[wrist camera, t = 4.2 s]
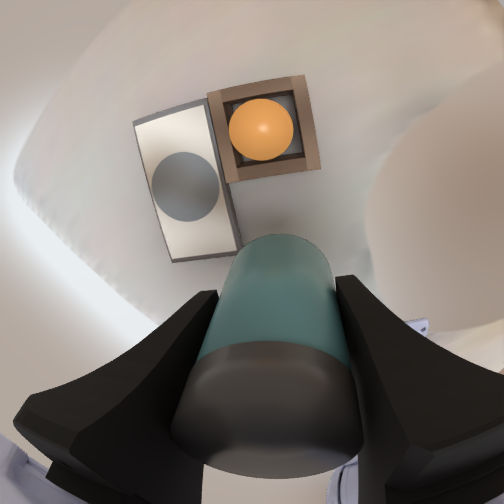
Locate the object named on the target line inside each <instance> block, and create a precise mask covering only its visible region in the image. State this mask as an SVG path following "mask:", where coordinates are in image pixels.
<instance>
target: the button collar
mask: <svg viewBox="0 0 504 504" xmlns="http://www.w3.org/2000/svg"><path fill="white" fill-rule="evenodd" d="M290 94H292V95H293V100H294V105H295V110H296V115H297V121H298V126H299V132H300V137H301V143H302V149H303V152H302V153H295V154H288V155H281V156H277V157H275V158H273V159H269V160H263V161H262V160H251V161H245V162H243V157H242V154H241V153H240V152H239V151H238V150H237V149H236V148H235V147H234V145H233V144H232V142H231V139H230V136H229V123H230V120H231V117H232V115H233V109H232V105H234V104H238V103H243V102H248V101H250V100H254V99H264V98H270V97H276V96H283V95H290ZM207 97H208V102H209V106H210V111H211V116H212V120H213V125H214V129H215V134H216V139H217V143H218V148H219V152H220V157H221V161H222V166H223V170H224V175H225V179H226V183H232V182H238V181H243V180H249V179H255V178H261V177H268V176H274V175H281V174H288V173H295V172H302V171H310V170H318V169H321V164H320V157H319V151H318V144H317V138H316V132H315V126H314V120H313V115H312V110H311V104H310V99H309V94H308V89H307V84H306V80H305V75H298V76H291V77H284V78H277V79H271V80H265V81H259V82H254V83H249V84H244V85H239V86H234V87H230V88H226V89H221V90H217V91H213V92H209V93H207Z"/></svg>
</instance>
